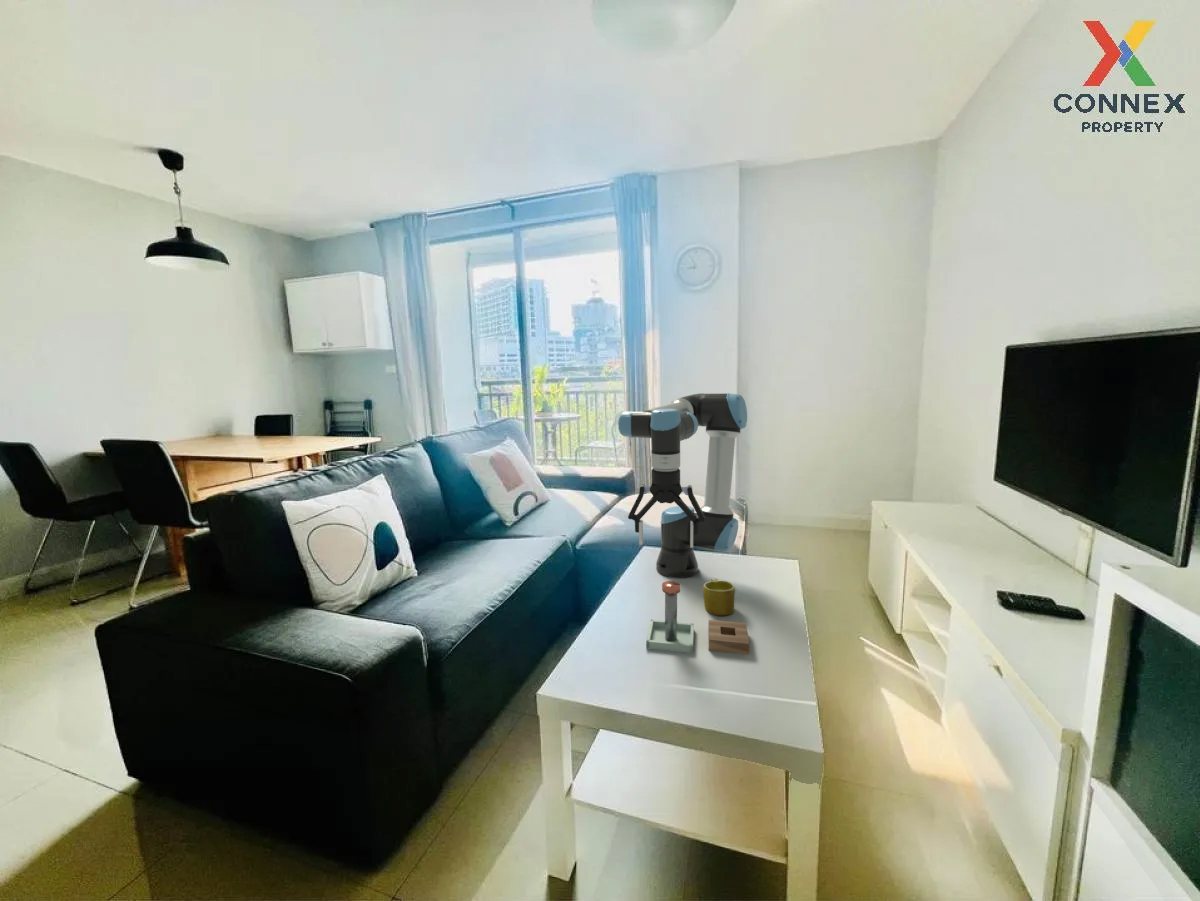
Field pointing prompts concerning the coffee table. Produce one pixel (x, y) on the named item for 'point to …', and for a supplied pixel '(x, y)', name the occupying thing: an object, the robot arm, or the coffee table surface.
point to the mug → (719, 597)
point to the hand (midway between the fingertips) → (666, 544)
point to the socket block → (728, 637)
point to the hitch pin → (671, 609)
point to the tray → (659, 642)
